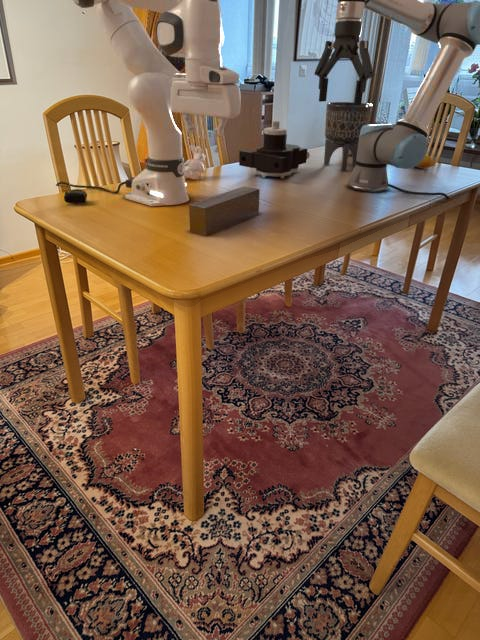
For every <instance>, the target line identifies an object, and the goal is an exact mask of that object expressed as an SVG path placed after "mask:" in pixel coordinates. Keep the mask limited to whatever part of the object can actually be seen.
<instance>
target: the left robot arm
mask: <svg viewBox="0 0 480 640" xmlns="http://www.w3.org/2000/svg"><path fill="white" fill-rule="evenodd" d="M72 1H73V2H74V4H75V5H77V6H78V7H80V8H82V9H88V8H92V7H93V8H94V6H95V5H96V6H97V7H96V15H97V18H98V20H99V24H100V25H101V28H102V30H103V32H104V34H105V36H106V38H107V39H108V41H109V43H110V45H111V46H112V48H113V50H114V51H115V53H116V54H117V56H118V58H119V59H120V61H121V63H122V64H123V65H124V67H125V68H126V70H128V71H129V72H130V73H132V74H133V75H135V76H134V77H132V78H131V79H130V81H129V82H128V84H127V89H126V90H127V91H126V92H127V98H128V101H129V104H130V105H131V106H132V108H133V109H134V110H135V111H136V112H137V113H138V114H139V116H140V118H141V120H142V123H143V125H144V128H145V132H146V140H147V149H148V157H146V158H144V159H142V164H145V167H144V169H143V170H142V171H141V172H140V173H138V174H137V175H136V176H135V177H130V178H128V179H125V181H122V182H120V183H119V184H118V186H117V189H116V190H115V191H112V190H109V189H108V188H105V187H102V186H98V185H97V186H96V185H80V184H79V185H78V184H73V183H68V182H66V181H59V182H57V183H56V184H55V186H56V187H58V186H59V185H65V186H69V187H71V188H77V189H97V190H102V191H104V192H107V193H111V194H118V193H120V190H121V187H122V186H123V185H125V188H129V189H131V191H129V192H128V193H126V194H125V196H124V198H125V199H126V200H128V201H129V200H130V201H132V202H135V203H139V204H143V205H147V206H149V207H160V206H175V205H182V204H184V203H187V202H189V200H190V197H189V194H188V191H187V182H186V180H185V177H184V168H185V167H184V164H185V158H184V156H183V155H184V154H183V135H182V131H181V130H180V128H179V127H177V125H176V123H175V121H174V118H173V117H174V116H173V114H172V112H173V113H177V114H178V113H179V114H181V115H182V116H181V118H182V120H183V123H184V124H185V129H186V133H188V134H189V133H191V134H193V133H195V132H196V130H195V129H196V125H195V124H193V122H192V120H191V118H192V115H195V116H205V117H213V118H217V122H218V126H217V128H214V136H215V137H218V138H222V137H224V129H225V127H226V126H227V123H228V119H236V118H237V119H238V117H239V116H240V114H241V106H242V105H241V103H242V102H241V89H240V87H239V86H238V84H239V82H240V74H239V73H238V72H236V71H234V70H233V69H230V68H228V67H227V66H224V65H223V58H222V54H221V50H222V49H223V46H224V42H225V33H224V28H223V21H222V9H221V5H220V2H219V0H72ZM132 8H135V9H142V10H147V11H152V12H156V13H159V14H160V16H159V17H158V19H157V21H156V24H155V39H156V43H157V46H158V47H157V46H156V44H155V43H154V41H153V40H152V38H151V37H150V35H149V33H148V32H147V30H146V29H145V27H144V26H143V23H142V22H141V20H140V19H139V17H138V16H137V15H136V14H135V12H134V10H133V9H132ZM158 48H159V49H160V50H159V49H158ZM166 56H168V57H173V58H184V68H185V72H181V71H179V70H178V69H177V68H176V67H175V66H174V65H173V64H172V63H171V62H170V61H169V60H168V59H167V57H166ZM69 184H70V185H69Z"/></svg>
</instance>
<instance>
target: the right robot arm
mask: <svg viewBox="0 0 480 640" xmlns="http://www.w3.org/2000/svg"><path fill="white" fill-rule="evenodd" d="M365 10H368V11H370V12H372V13H375V14H376V15H379V16H381V17H384V18H385V19H388V20H391V21H392V22H395V23H398V24H400V25H402V26H404V27H406V28H409V30H410V33H412V34H413V35H416V36H418V37H420V38H421V39H425V40H426V41H429V42H431V43H435V44H437V45H439V50H438V51H437V54H436V56H435V58H434V60H433V61H432V64H431V65H430V67H429V69H428V71H427V73H426V75H425V77H424V78H423V81H422V83H421V84H420V86H419V88H418V90H417V92H416V94H415V96H414V98H413V100H412V102H411V104H410V106H409V107H408V109H407V111H406V113H405V115H404V116H403V118H401V119H399V120H397V121H396V123H395V125H394V124H393V123H383V124H382V123H381V124H369V125H364V126H363V127H362V128H361V131H360V135H359V142H358V150H357V158H356V165H355V166H354V167H353V171H351V174H350V176H349V179H348V182H347V187H348V188H349V189H351V190H354V191H358V192H363V193H364V192H365V193H382V192H386V191H388V189H389V188H392V189H393V190H396V191H399V192H401V193H405V194H410V195H416V196H417V195H418V196H443V197H444V198H445V199H446V200H450V196H449V195H448V194H447V193H445V192H440V191H439V192H427V191H424V192H423V191H411V190H407V189H403V188H400V187H398V186H396V185H393V184H390V183H389V178H388V173H387V172H388V171H387V166H391V167H394V168H397V169H404V170H409V169H412V168H414V167H417V166H416V165H418V164H419V163H420V162H421V161H422V160H423V158H424V157H425V155H427V152H428V149H429V148H428V146H429V141H428V136H429V132H428V127H429V125H430V124H431V121H432V119H433V118H434V116H435V113H436V112H437V110H438V109H439V106H440V105H441V103H442V102H443V101H442V100H443V99H444V97H445V96H446V93H447V92H448V90H449V88H450V86H451V84H452V82H453V81H454V78H455V76H456V75H457V73H458V71H459V69H460V67H461V66H462V64H463V61H464V60H465V59H466V58H469V57H471V56H472V55H473V53H474V51H475V50H476V48H477V46H479V45H480V0H473V1H466V2H457V3H456V2H455V3H445V4H440V3H439V4H438V3H433V2H431V1H424V2H422V1H420V0H337V7H336V16H335V19H336V20H337V21H336V22H335V23H334V34H333V35H334V38H335V39H334V41H333V40H326V41H325V45H324V49H323V52H322V53H321V57H320V59H319V61H318V63H317V65H316V68H315V70H314V76H317V77H318V90H319V95H318V102H320V103H321V102H327V97H328V89H329V86H328V85H329V78H328V75H329V74H330V72H332V69H333V68H334V67H335V65H336V64H337V62H338V61H340V60H341V59H349V60H350V61H351V64H352V66H353V68H354V71H355V73H356V74H357V77H358V80H357V79H356V83H355V84H356V85H355V93H354V99H353V100H354V101H353V102H354V105H361V103H363V94H364V93H366V88H367V81H369V79H373V78H374V74H375V73H374V71H373V66H372V62H371V61H372V60H371V57H370V52H369V41H368V40H363V39H362V40H360V37H361V35H362V27H363V23H362V20H364V19H363V18H364V13H365ZM358 50H359V52H358Z"/></svg>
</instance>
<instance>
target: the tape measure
mask: <svg viewBox="0 0 480 640" xmlns="http://www.w3.org/2000/svg"><path fill="white" fill-rule="evenodd" d="M87 198H88V193H87V192H86V191H85V190H84V189H82V188H75V189H74V188H73V189H69V190H65V192H64V196H63V200H64V202H65V203H67V204H74V205H78V204H82V203H83V204H84V203H85V204H86V203H87Z"/></svg>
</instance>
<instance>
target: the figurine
mask: <svg viewBox="0 0 480 640" xmlns="http://www.w3.org/2000/svg"><path fill="white" fill-rule="evenodd" d="M189 149H190V151H191V152H192V154H193V159H191V158H190V159H187V160H186V161H185V162H184V167H185V168H184V178H186V179H187V178H188V179H190V180H200V178H199V176H200V175H201V174H204V173H205V171H206V169H205V165H204V162H205V159H206V154H204V153H203V149H202V147H200V146H199V145H197V144H196V146H195V145H193V144H191V145H189Z"/></svg>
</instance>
